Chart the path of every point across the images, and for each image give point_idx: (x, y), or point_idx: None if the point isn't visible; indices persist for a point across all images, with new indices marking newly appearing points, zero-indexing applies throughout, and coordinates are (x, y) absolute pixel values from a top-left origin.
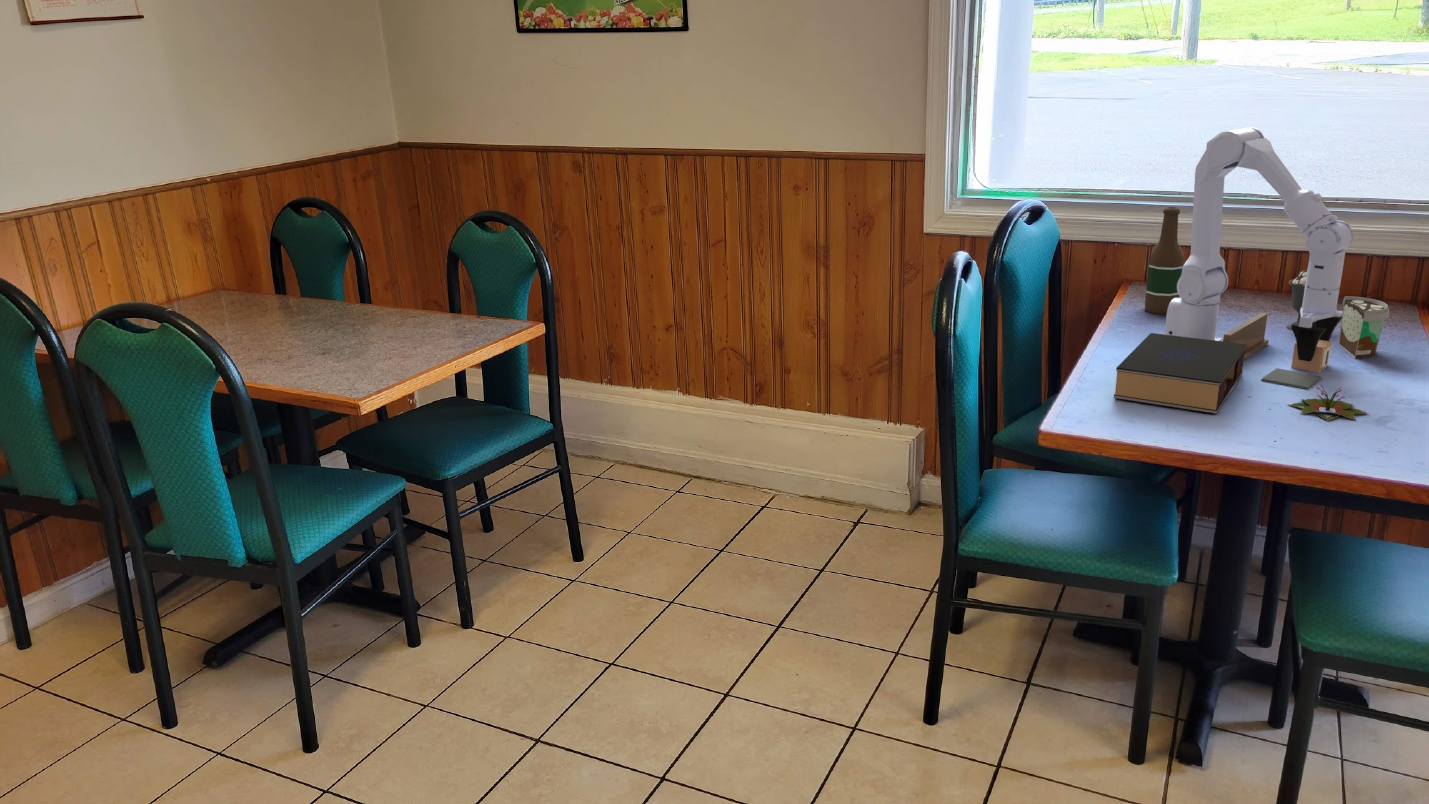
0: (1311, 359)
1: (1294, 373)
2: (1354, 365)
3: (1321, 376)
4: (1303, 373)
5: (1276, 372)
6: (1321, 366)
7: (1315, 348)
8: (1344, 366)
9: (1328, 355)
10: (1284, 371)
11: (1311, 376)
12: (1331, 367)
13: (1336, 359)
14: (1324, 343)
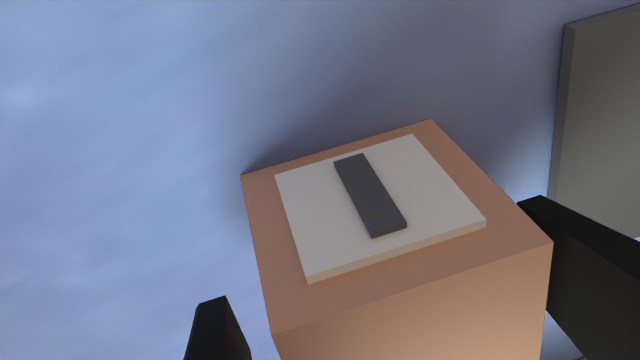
0: (542, 202)
1: (600, 166)
2: (23, 68)
3: (583, 29)
4: (573, 138)
5: (628, 222)
6: (418, 145)
7: (624, 255)
8: (138, 101)
9: (323, 211)
10: (588, 214)
11: (616, 71)
12: (254, 140)
13: (24, 238)
14: (397, 320)
